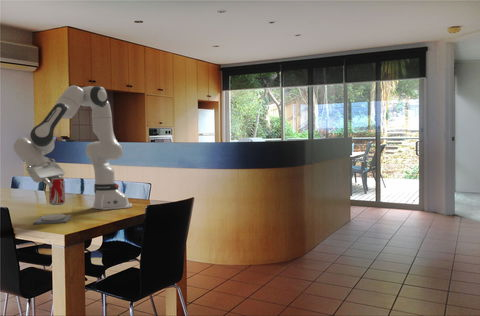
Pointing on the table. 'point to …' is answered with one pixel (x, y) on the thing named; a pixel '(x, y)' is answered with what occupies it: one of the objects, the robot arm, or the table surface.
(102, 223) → the table surface
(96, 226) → the table surface
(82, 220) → the table surface
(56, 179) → the soda can
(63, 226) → the table surface
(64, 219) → the slate can stand
